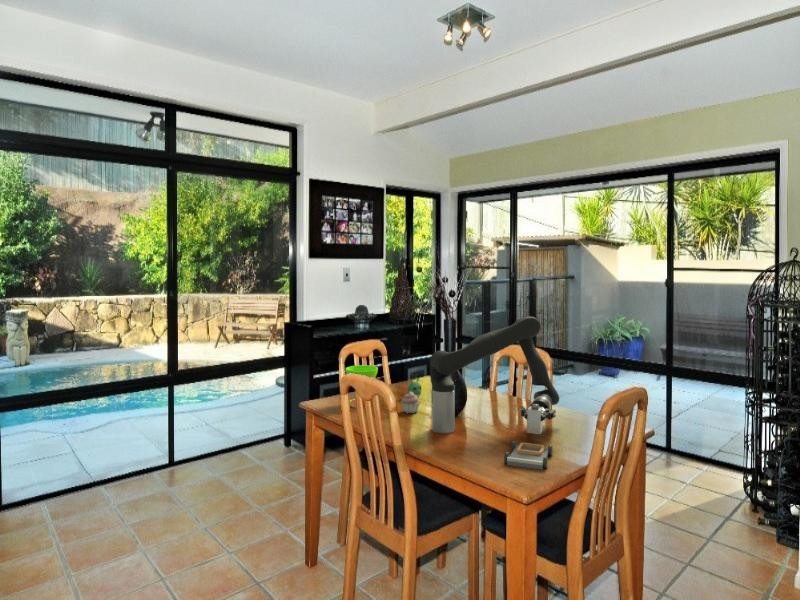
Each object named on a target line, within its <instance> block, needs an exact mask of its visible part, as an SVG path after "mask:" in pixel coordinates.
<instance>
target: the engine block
mask: <svg viewBox="0 0 800 600" xmlns="http://www.w3.org/2000/svg"><path fill="white" fill-rule="evenodd" d="M528 407H529V408H528ZM528 407H527V408H528V411H527V414H528V417H527V420H526V422H527V423H526V433H527V434H535V435H541V434H542V432H543V422H544V420H543V421H541V415H542V413H543V408H542V407H539V404H532V406H530V405H529V406H528Z"/></svg>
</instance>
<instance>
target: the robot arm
mask: <svg viewBox="0 0 800 600" xmlns="http://www.w3.org/2000/svg"><path fill="white" fill-rule="evenodd" d="M540 330H541V322H540V321H539V319H537V318H536V317H534V316H525V317H521V318H518V319H517V320H515V321H514V323H513V324H511V325H509V326H507V327H506V326H505V327H503V328H498V329H495V330H492V331H489V332H486V333H483V334H482V335H479V336H477V337H475V338H474V339H473V340H471V342H469V344H467V345H465V346H464V347H463V348H459V349H458V350H454V351H451V352H448V351H445V350H436V351H435V352H434V353H433V354H432V355H431V357H430V360H429V372H430V375H429V376H430V383H431V387H432V397H431V398H432V400H431V402H432V403H431V405H432V406H431V430H432V433H437V434H450V433H454V432H455V427H456V426H455V425H456V424H455V423H456V421H455V418H456V417H455V415H456V414H455V398H456V397H455V395H456V394H455V385H454V381H453V378H452V374H454V373H456V372H458V371H460V370H461V369H462V368H465V367H466V366H469V365H470V364H472V363H475V362H477V361H480V360H482V359H485V358H488V357H489V356H492V355H494V354H497V353H498V352H501V351H503V350H504V349H506V348H509V346H512V345H513V344H516V343H517V342H518V343H519V346H520V348H521V350H522V353H523V355H524V358H525V360H526V363H527V365H528V369H529V372H530V375H531V379H532V383H533V385H535V386H543V387H545V388H546V389H543V390H538V391H536V392H534V394H533V401H532V402H531V404H530V405H529V406H528V407H527V408H526V407H525V406H523V405H522V406H520V416H521V417H523V418H524V419H525V420H526V421H527V417H528V414H527V411H528V408H529V407H530V406H532V404H539V407H542V408H543V413H542V415H541V421H543V422H544V421H545V420H552V419H555V418H556V409H551V408H552V407H553V406H556V405H558V404H559V402H560V394H559V393H558V391H557V390H556V389H555V386H554V385H553V383H552V381H551V379H550V376H549V373H548V370H547V367H546V364H545V362H544V360H543V358H542V356H541V355H540V353H539V352H538V350H537V348H536V346H535V344H534V340H533V338H534V337H536V336H537V335H538V334H539V333H540Z"/></svg>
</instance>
